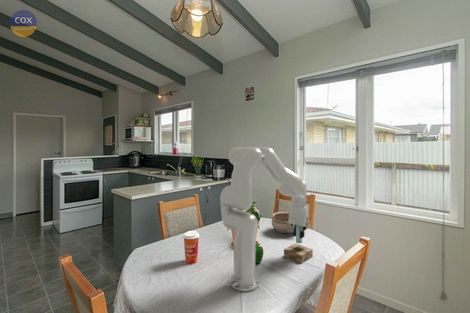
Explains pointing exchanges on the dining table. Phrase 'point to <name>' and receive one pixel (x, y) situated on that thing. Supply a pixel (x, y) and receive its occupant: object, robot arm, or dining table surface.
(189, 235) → the coffee cup
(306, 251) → the socket
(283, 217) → the cooking pot
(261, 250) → the bell pepper
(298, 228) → the peg
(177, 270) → the dining table surface
